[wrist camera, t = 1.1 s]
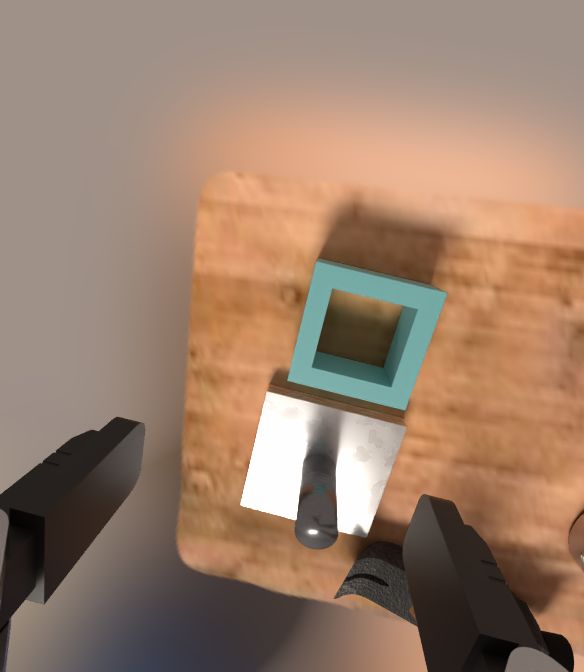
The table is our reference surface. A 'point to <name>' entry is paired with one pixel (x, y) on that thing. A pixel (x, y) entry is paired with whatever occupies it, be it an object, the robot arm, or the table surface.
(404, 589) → the hammer
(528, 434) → the table surface
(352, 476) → the stand
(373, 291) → the collar
